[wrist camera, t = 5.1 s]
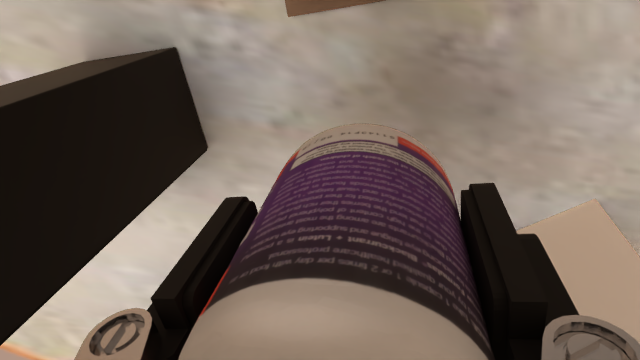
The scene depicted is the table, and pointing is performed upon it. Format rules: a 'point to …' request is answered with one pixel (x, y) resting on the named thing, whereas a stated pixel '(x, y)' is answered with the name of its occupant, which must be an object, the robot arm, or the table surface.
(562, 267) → the milk
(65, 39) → the table surface
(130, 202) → the tissue box
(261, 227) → the pill bottle
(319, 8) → the holder
